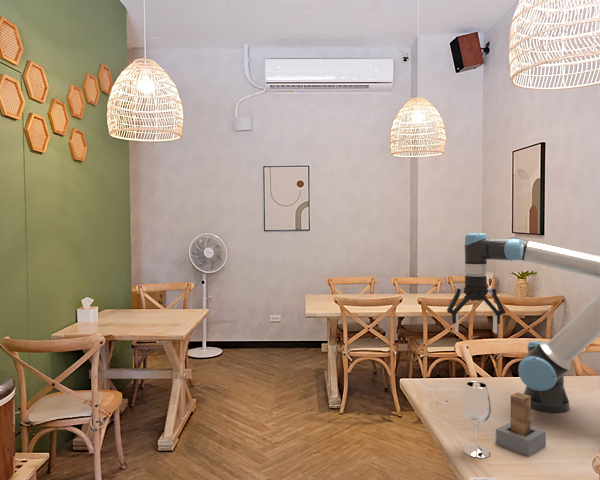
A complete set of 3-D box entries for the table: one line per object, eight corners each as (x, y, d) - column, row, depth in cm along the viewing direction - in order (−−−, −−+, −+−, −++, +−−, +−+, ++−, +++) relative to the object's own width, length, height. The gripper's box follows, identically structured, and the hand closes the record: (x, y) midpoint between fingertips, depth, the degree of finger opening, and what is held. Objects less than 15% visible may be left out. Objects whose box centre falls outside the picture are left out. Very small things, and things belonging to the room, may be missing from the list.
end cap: (513, 434, 147) (513, 420, 147) (545, 446, 139) (545, 431, 139) (496, 443, 141) (496, 429, 141) (528, 456, 133) (528, 441, 133)
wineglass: (458, 446, 140) (457, 380, 139) (482, 444, 141) (482, 379, 140) (469, 459, 132) (469, 389, 132) (496, 457, 133) (496, 388, 132)
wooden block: (517, 437, 143) (517, 392, 143) (530, 442, 140) (530, 396, 140) (510, 441, 141) (510, 395, 140) (523, 445, 138) (523, 399, 137)
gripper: (508, 274, 173) (508, 330, 174) (439, 273, 177) (439, 329, 178) (514, 276, 166) (514, 335, 166) (442, 276, 169) (442, 333, 170)
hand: (475, 332), depth 172 cm, fingers open, 13 cm apart
